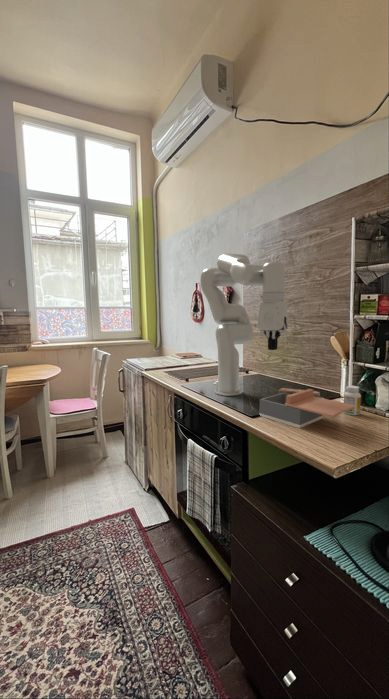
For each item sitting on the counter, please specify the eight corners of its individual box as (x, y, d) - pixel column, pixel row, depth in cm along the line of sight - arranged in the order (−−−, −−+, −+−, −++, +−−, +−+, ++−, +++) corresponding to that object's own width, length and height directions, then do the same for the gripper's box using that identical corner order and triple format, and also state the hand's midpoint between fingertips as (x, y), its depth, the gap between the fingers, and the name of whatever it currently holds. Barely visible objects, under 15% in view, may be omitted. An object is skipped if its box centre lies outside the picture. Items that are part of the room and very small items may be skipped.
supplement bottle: (355, 410, 114) (356, 385, 113) (362, 415, 109) (364, 388, 108) (340, 410, 114) (341, 385, 113) (347, 415, 109) (348, 388, 108)
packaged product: (276, 390, 128) (280, 385, 137) (276, 402, 128) (280, 396, 137) (323, 395, 120) (324, 389, 129) (323, 407, 121) (324, 400, 130)
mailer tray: (259, 415, 110) (259, 399, 109) (282, 407, 119) (283, 392, 118) (299, 428, 98) (300, 409, 97) (322, 418, 107) (323, 401, 106)
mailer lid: (284, 405, 101) (284, 395, 101) (308, 397, 110) (309, 388, 110) (332, 417, 89) (333, 406, 88) (355, 407, 98) (355, 397, 98)
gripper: (250, 298, 113) (249, 348, 115) (285, 296, 102) (284, 352, 104) (263, 299, 118) (262, 347, 120) (298, 297, 106) (296, 350, 108)
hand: (272, 349), depth 112 cm, fingers closed
